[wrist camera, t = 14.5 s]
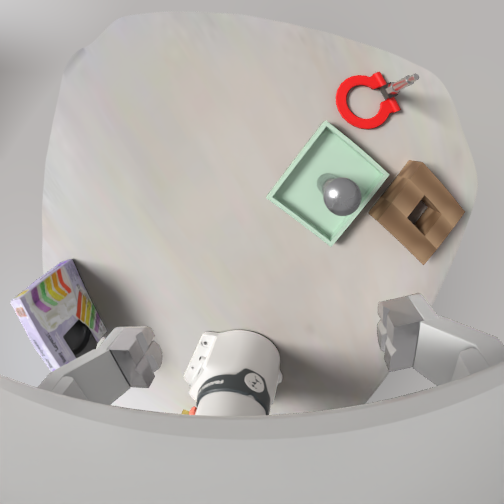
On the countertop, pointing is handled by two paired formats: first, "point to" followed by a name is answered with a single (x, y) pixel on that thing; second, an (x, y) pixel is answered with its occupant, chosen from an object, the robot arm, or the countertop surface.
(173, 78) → the countertop surface
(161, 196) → the countertop surface
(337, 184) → the pin
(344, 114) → the tow hook
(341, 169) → the tray
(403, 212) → the block
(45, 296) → the cake pan box
